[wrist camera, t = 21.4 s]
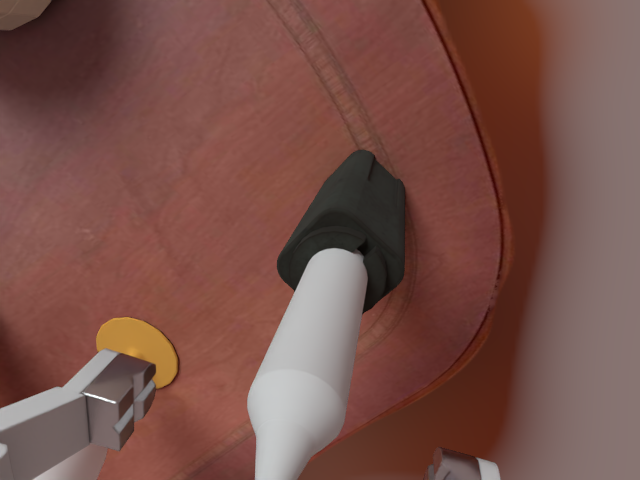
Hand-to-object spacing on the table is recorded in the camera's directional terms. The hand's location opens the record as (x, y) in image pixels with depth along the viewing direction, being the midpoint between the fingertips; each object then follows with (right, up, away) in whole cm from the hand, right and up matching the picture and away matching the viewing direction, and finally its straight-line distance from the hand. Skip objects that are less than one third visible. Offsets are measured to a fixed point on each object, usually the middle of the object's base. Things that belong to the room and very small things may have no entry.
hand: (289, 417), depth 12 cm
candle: (+4, +9, +20) cm, 22 cm away
